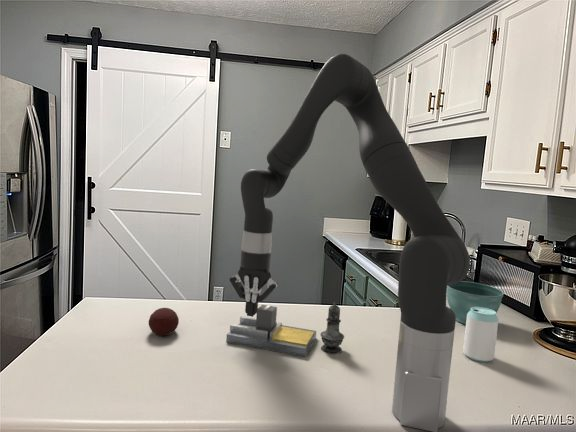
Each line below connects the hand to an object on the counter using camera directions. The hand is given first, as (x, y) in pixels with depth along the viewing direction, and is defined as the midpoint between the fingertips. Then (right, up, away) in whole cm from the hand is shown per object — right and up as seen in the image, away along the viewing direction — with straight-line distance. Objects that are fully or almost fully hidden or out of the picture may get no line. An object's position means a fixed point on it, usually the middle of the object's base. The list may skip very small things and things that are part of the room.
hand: (251, 315), depth 106 cm
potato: (-22, -5, 0) cm, 23 cm away
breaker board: (+5, -6, -1) cm, 8 cm away
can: (+57, -10, -3) cm, 58 cm away
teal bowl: (+66, -8, +23) cm, 71 cm away
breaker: (+4, -4, -1) cm, 5 cm away
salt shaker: (+20, -8, -4) cm, 22 cm away
